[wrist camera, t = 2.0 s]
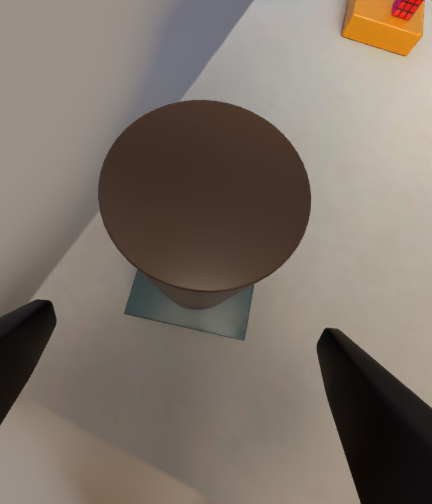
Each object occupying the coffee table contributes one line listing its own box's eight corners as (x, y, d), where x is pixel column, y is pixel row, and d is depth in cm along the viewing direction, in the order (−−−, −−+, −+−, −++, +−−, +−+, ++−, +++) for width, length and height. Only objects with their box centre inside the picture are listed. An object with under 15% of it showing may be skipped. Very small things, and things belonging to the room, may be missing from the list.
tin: (236, 337, 19) (244, 340, 16) (134, 314, 19) (123, 313, 16) (254, 241, 21) (263, 228, 18) (162, 219, 21) (157, 203, 18)
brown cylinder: (230, 318, 16) (298, 316, 6) (147, 299, 16) (62, 262, 6) (245, 240, 18) (320, 125, 7) (169, 222, 18) (136, 79, 7)
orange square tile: (341, 36, 29) (365, -11, 25) (349, -7, 31) (373, -57, 27) (405, 56, 29) (441, 13, 25) (409, 12, 31) (442, -35, 27)
